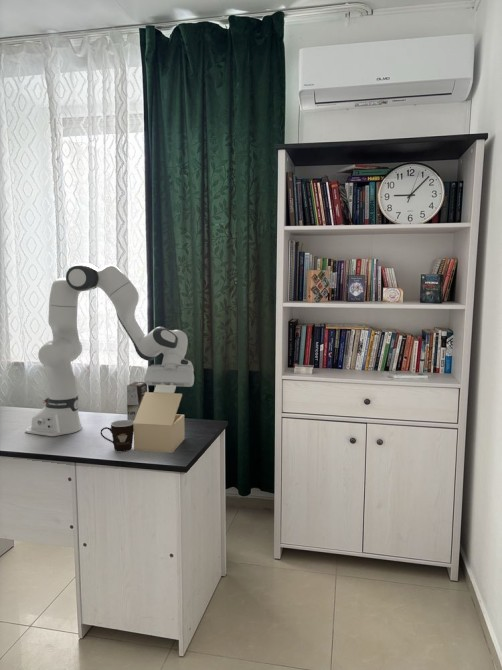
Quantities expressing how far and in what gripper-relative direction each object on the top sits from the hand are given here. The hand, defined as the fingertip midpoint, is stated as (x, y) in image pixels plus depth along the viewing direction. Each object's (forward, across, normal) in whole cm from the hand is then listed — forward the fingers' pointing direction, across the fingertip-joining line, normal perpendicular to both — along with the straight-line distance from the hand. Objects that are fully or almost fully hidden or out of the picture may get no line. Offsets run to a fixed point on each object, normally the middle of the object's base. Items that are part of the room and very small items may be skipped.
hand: (165, 394), depth 202 cm
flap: (+7, 0, -3) cm, 7 cm away
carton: (+18, 0, +8) cm, 20 cm away
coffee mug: (+23, -14, +3) cm, 27 cm away
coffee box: (-5, -22, +32) cm, 39 cm away
